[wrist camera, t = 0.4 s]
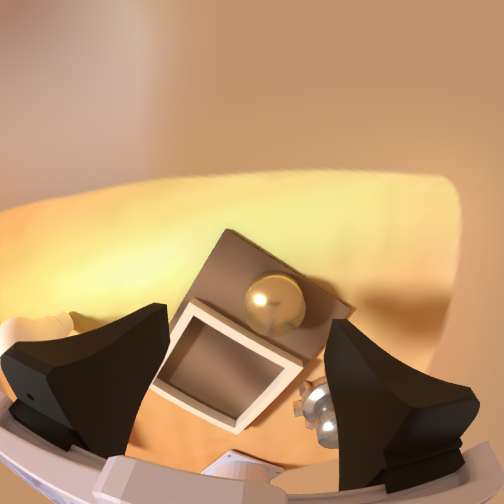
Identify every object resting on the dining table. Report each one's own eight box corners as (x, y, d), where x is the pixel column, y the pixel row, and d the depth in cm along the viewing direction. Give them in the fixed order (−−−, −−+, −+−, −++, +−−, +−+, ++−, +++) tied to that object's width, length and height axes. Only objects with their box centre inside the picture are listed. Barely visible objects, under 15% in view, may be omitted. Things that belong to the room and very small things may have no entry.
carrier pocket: (238, 427, 24) (237, 434, 23) (146, 377, 24) (142, 383, 23) (302, 360, 22) (303, 368, 21) (193, 296, 22) (189, 302, 21)
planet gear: (333, 429, 24) (341, 465, 19) (278, 407, 24) (278, 446, 19) (381, 383, 23) (399, 417, 17) (326, 354, 23) (338, 392, 17)
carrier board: (240, 428, 25) (240, 431, 24) (142, 374, 24) (140, 377, 24) (349, 307, 22) (351, 309, 21) (226, 228, 21) (225, 229, 21)
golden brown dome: (281, 331, 22) (282, 346, 19) (235, 304, 22) (231, 317, 19) (312, 289, 21) (317, 300, 19) (265, 259, 21) (265, 267, 18)
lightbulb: (99, 341, 24) (35, 398, 13) (65, 345, 25) (7, 393, 14) (76, 287, 23) (-2, 328, 12) (44, 297, 24) (-24, 333, 13)
